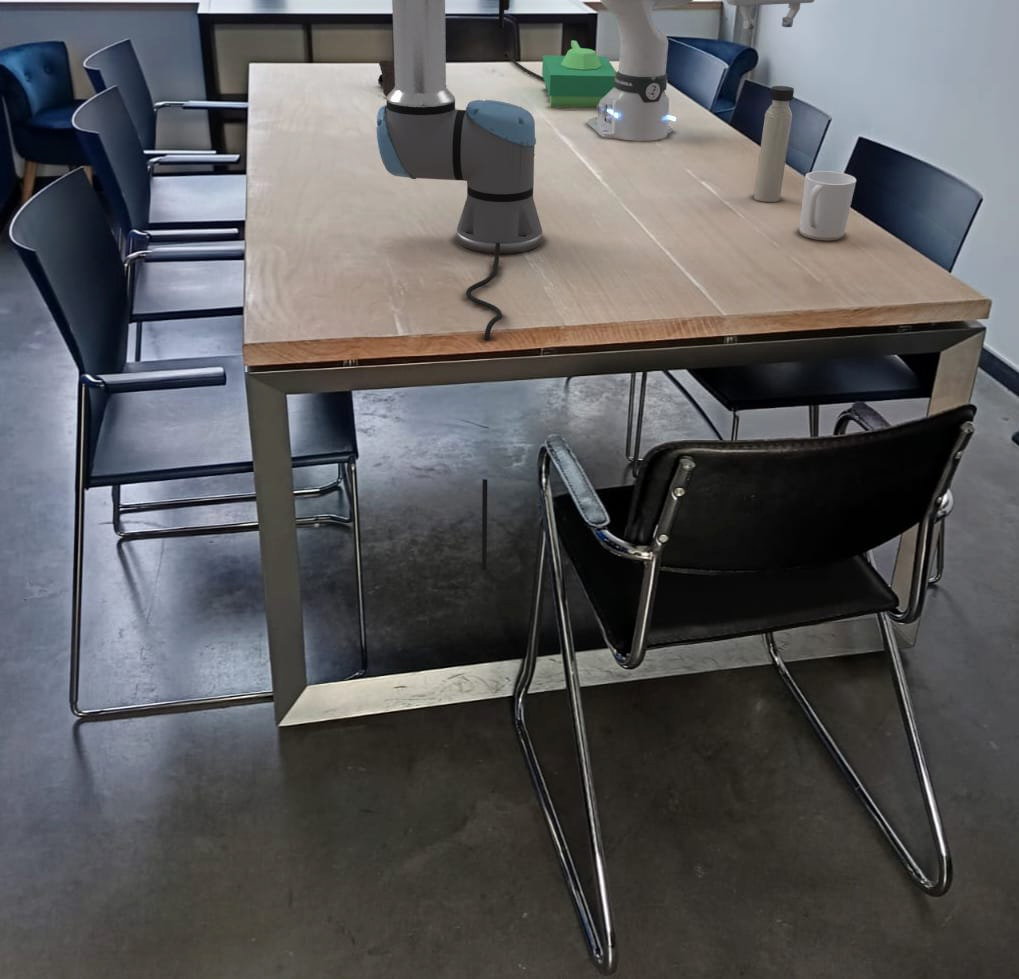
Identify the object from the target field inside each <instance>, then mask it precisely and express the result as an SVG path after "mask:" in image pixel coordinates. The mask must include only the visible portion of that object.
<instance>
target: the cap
mask: <svg viewBox="0 0 1019 979" xmlns="http://www.w3.org/2000/svg"><path fill="white" fill-rule="evenodd" d="M794 94H795V88H794V87H792V86H787V85H773V86H771V87H770V92H769V99H770V100H771V101H773V100H776V101H789V102H790V101H792V100H793V99H794Z"/></svg>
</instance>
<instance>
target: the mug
mask: <svg viewBox="0 0 1019 979" xmlns="http://www.w3.org/2000/svg"><path fill="white" fill-rule="evenodd" d="M856 183H857V178H856V177H855V176H853V175H851V174H848V173H844V172H840V171H832V170H816V171H809V172H807V173H806V174H805V177H804V184H803V194H802V203H801V212H800V219H799V228H798V232H799V234H800V235H802V236H803V237H805V238H809V239H812V240H817V241H836V240H840V239H842V238H843V237H844V236H845V230H846V227H847V221H848V217H849V215H850V214H849V213H850V209H851V205H852V201H853V196H854V193H855V189H856Z"/></svg>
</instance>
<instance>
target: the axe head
mask: <svg viewBox="0 0 1019 979" xmlns="http://www.w3.org/2000/svg"><path fill="white" fill-rule="evenodd" d="M378 66H379V68H380V72H381V74H379V75H378V79H377V84H378V85H379V86H380V87H381V88H382V89H383V95H384V96H385V97H387V96H388V94H389V93H390V92H391V91H392V90H393V89H394V87H395V68H394V60H388V59H387V60H380V61H379V62H378Z"/></svg>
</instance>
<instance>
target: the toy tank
mask: <svg viewBox="0 0 1019 979" xmlns="http://www.w3.org/2000/svg"><path fill="white" fill-rule="evenodd" d="M570 46H571V48H570V49H569V50H567V52H566V55H549V54H547V55H545V54H543V55H542V65H541V66H542V67H541V76H542V77H543V79H544V81H543V82H544V88H545V91H547V93H548V96H549V107H550V108H597V105H599V102H600V100H601V99H602V98H603V97H604V96H605V95H606V94H607V93H608V92H610V91H611V90H612V89H613V88H614V86H613V85H614V81H615V77H614V76H616V73H614V72H617V71H616V70H615V68H614V67H613V64H612V63H611V62H610V60H609V58H608V57H607V56H603V55H601V56H599V55H598V54H597V51H596V50H593V49H591V48H582V47H581V46H580V44H579V43H578V41H577V40H571V41H570Z"/></svg>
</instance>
